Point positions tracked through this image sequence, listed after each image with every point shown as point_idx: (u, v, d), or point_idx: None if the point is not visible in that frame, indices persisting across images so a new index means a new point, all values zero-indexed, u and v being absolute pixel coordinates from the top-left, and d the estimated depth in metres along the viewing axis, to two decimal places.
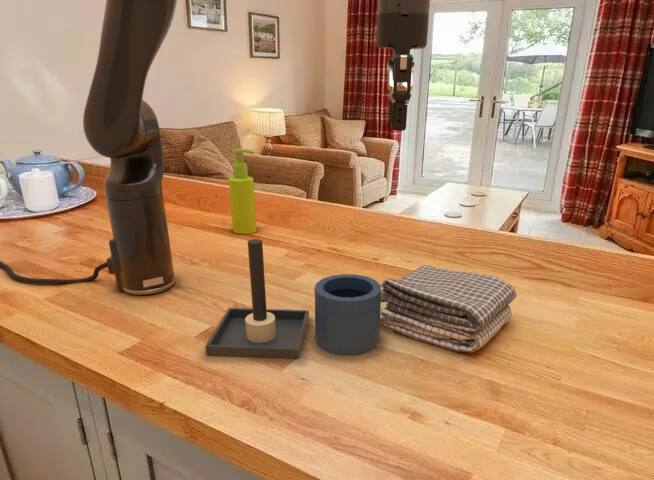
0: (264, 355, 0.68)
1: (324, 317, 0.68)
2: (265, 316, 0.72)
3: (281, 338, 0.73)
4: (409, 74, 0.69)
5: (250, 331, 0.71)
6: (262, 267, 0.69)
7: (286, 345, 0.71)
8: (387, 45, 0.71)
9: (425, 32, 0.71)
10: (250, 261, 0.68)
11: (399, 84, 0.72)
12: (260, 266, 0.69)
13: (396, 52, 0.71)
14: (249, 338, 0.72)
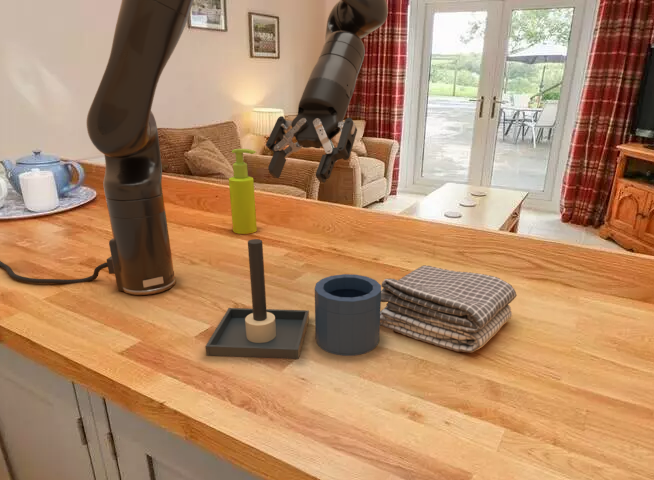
0: (264, 355, 0.68)
1: (324, 317, 0.68)
2: (265, 316, 0.72)
3: (281, 338, 0.73)
4: (353, 140, 0.76)
5: (250, 331, 0.71)
6: (262, 267, 0.69)
7: (286, 345, 0.71)
8: (329, 106, 0.76)
9: None
10: (250, 261, 0.68)
11: (330, 142, 0.75)
12: (260, 266, 0.69)
13: (335, 116, 0.76)
14: (249, 338, 0.72)
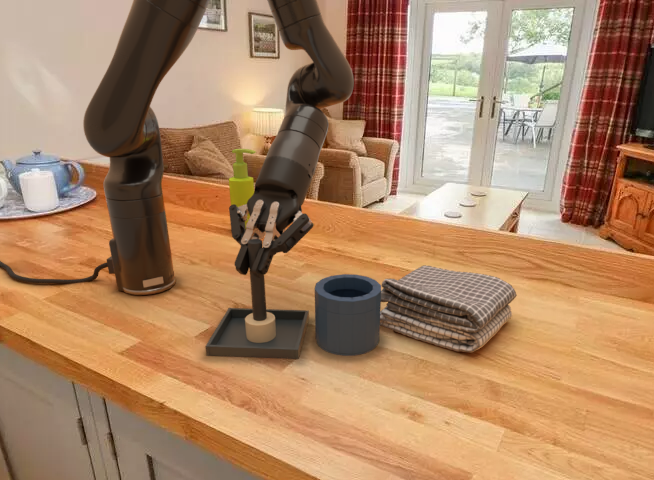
0: (264, 355, 0.68)
1: (324, 317, 0.68)
2: (265, 316, 0.72)
3: (281, 338, 0.73)
4: (301, 236, 0.69)
5: (250, 331, 0.71)
6: None
7: (286, 345, 0.71)
8: (289, 188, 0.69)
9: None
10: (250, 261, 0.68)
11: (276, 233, 0.69)
12: None
13: (296, 200, 0.69)
14: (249, 338, 0.72)
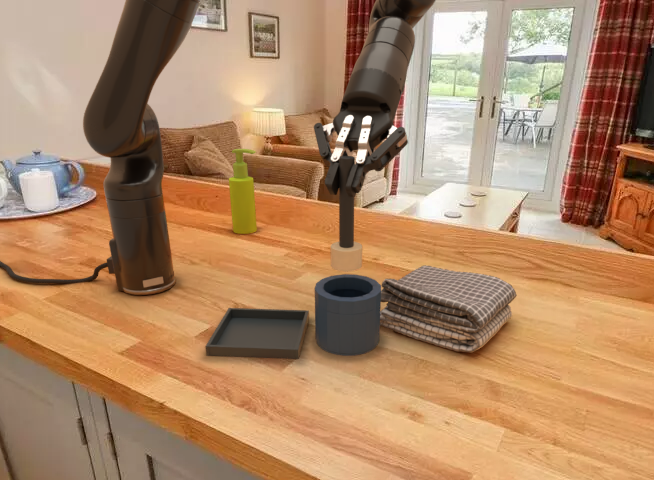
0: (264, 355, 0.68)
1: (324, 317, 0.68)
2: (352, 243, 0.67)
3: (281, 338, 0.73)
4: (396, 153, 0.64)
5: (338, 259, 0.66)
6: None
7: (286, 345, 0.71)
8: (382, 101, 0.64)
9: None
10: (341, 179, 0.63)
11: (369, 150, 0.64)
12: None
13: (389, 114, 0.64)
14: (335, 267, 0.67)
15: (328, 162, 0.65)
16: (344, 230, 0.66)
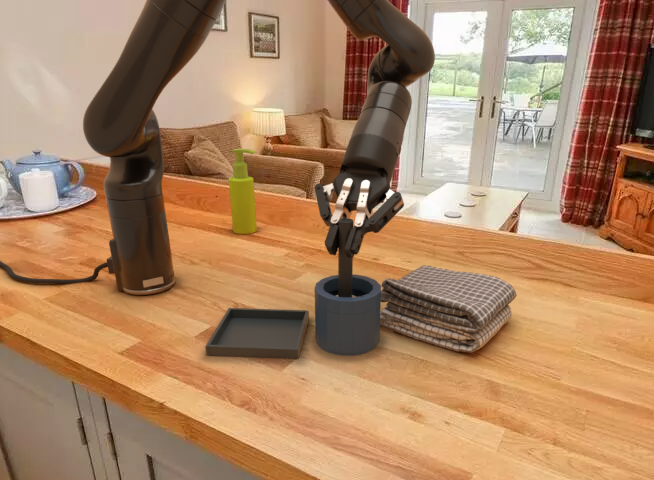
0: (264, 355, 0.68)
1: (324, 317, 0.68)
2: None
3: (281, 338, 0.73)
4: (392, 216, 0.67)
5: None
6: None
7: (286, 345, 0.71)
8: (380, 167, 0.67)
9: None
10: (340, 241, 0.67)
11: (367, 213, 0.67)
12: None
13: (386, 178, 0.68)
14: None
15: (328, 223, 0.68)
16: (343, 287, 0.69)
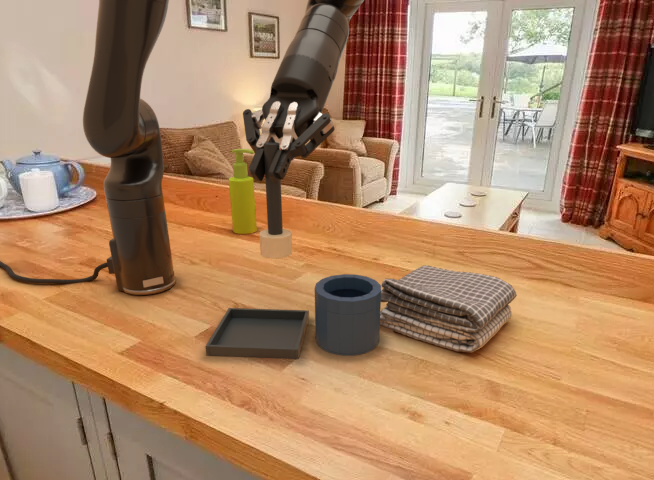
0: (264, 355, 0.68)
1: (324, 317, 0.68)
2: (281, 230, 0.67)
3: (281, 338, 0.73)
4: (321, 140, 0.64)
5: (265, 246, 0.66)
6: None
7: (286, 345, 0.71)
8: (309, 88, 0.64)
9: None
10: (266, 165, 0.63)
11: (295, 136, 0.64)
12: None
13: (316, 101, 0.64)
14: (263, 254, 0.67)
15: (255, 148, 0.65)
16: (271, 217, 0.66)
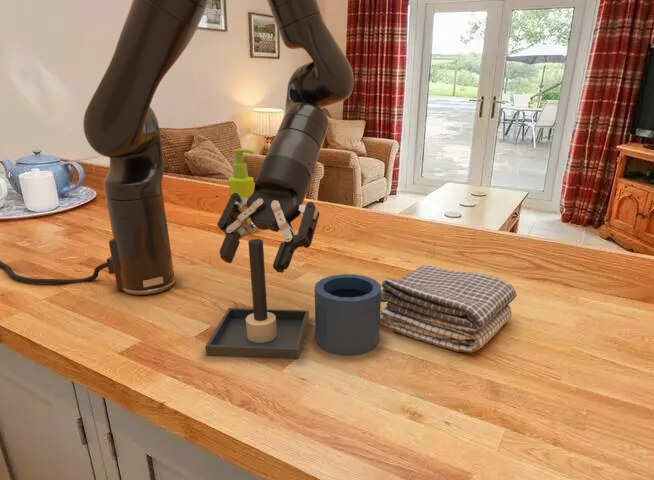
0: (264, 355, 0.68)
1: (324, 317, 0.68)
2: (266, 316, 0.72)
3: (281, 338, 0.73)
4: (315, 226, 0.69)
5: (251, 331, 0.71)
6: (263, 267, 0.69)
7: (286, 345, 0.71)
8: (289, 187, 0.69)
9: None
10: (251, 261, 0.68)
11: (290, 227, 0.69)
12: (261, 266, 0.69)
13: (296, 199, 0.69)
14: (250, 338, 0.72)
15: (225, 232, 0.71)
16: (256, 305, 0.71)
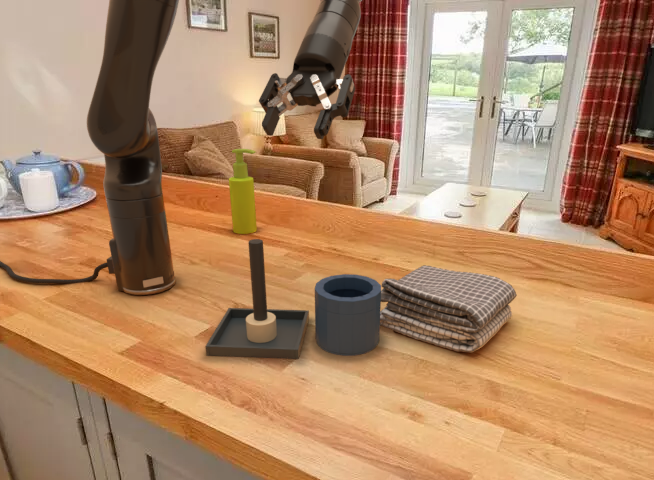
0: (264, 355, 0.68)
1: (324, 317, 0.68)
2: (266, 316, 0.72)
3: (281, 338, 0.73)
4: (351, 98, 0.73)
5: (251, 331, 0.71)
6: (263, 267, 0.69)
7: (286, 345, 0.71)
8: (327, 62, 0.73)
9: None
10: (251, 261, 0.68)
11: None
12: (261, 266, 0.69)
13: (333, 73, 0.74)
14: (250, 338, 0.72)
15: (266, 108, 0.76)
16: (256, 305, 0.71)
